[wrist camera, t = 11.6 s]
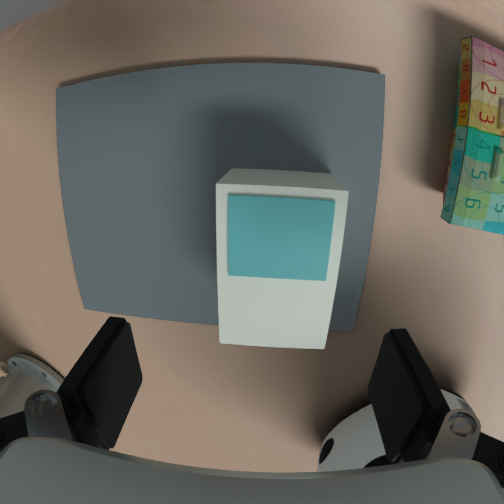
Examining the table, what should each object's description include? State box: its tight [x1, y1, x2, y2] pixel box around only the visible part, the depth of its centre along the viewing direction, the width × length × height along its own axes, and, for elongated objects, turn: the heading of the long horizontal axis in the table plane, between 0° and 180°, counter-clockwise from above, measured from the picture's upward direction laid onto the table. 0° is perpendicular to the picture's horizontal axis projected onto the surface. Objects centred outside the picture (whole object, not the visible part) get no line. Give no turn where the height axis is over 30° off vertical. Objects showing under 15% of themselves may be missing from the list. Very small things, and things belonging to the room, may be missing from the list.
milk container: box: [318, 387, 481, 472], centre depth 20 cm, size 17×17×18 cm
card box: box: [216, 168, 349, 349], centre depth 18 cm, size 9×6×5 cm, turn 178°
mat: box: [56, 63, 385, 331], centre depth 20 cm, size 22×18×1 cm
